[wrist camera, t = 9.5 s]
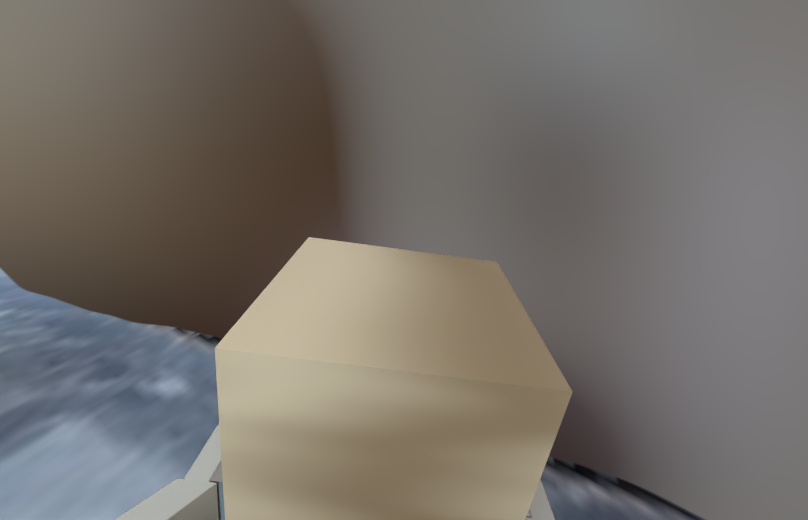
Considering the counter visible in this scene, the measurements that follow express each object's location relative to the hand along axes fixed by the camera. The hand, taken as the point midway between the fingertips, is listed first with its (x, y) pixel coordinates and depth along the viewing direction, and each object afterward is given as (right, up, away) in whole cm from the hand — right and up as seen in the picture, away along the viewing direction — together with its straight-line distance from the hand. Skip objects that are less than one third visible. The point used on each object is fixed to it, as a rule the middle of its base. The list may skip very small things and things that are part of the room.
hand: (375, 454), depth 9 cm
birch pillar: (-1, -6, +1) cm, 6 cm away
